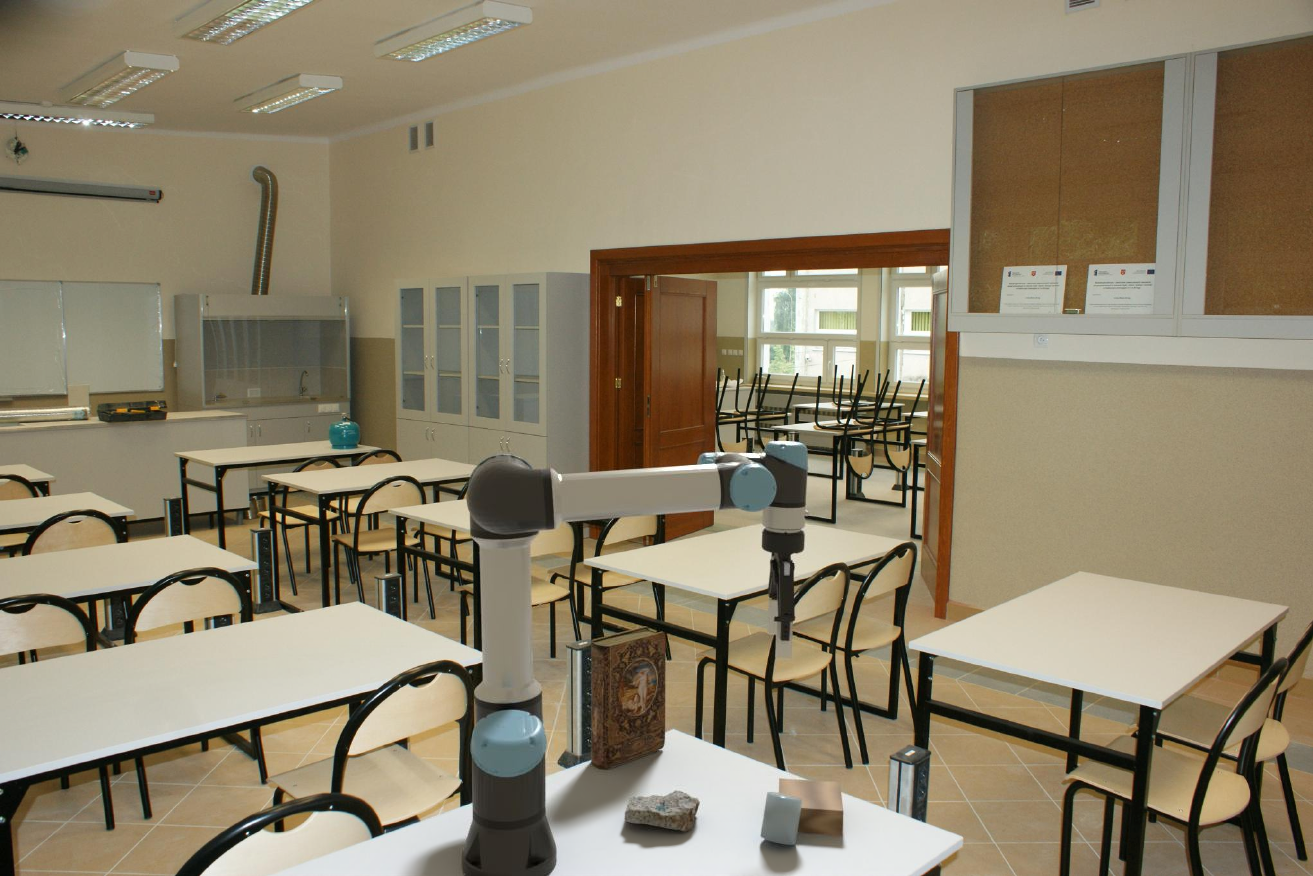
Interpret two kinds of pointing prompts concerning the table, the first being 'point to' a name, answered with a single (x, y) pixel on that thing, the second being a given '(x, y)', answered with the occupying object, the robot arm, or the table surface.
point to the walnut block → (817, 805)
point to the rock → (663, 810)
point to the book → (627, 696)
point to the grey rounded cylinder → (781, 818)
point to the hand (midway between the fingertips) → (778, 645)
